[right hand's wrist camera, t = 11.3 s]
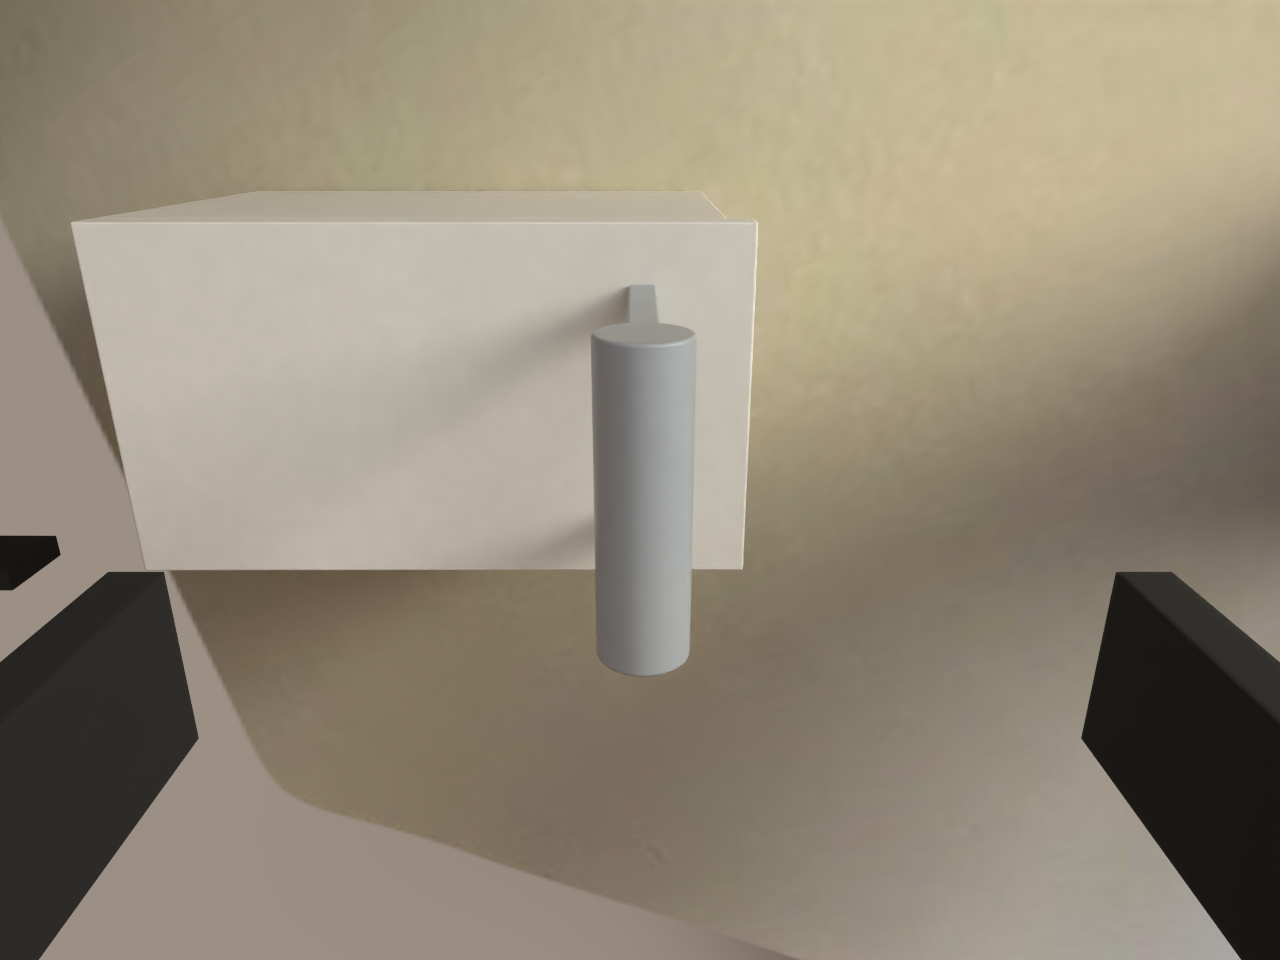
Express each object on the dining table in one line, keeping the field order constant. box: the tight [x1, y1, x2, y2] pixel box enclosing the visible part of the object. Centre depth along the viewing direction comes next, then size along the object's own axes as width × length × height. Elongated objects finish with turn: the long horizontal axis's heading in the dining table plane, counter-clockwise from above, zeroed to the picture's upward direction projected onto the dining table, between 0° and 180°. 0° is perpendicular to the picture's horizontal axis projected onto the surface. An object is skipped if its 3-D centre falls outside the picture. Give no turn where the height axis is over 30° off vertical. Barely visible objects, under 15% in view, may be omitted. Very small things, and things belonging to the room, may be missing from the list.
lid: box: [70, 218, 758, 677], centre depth 21 cm, size 17×10×8 cm, turn 90°
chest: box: [99, 191, 726, 218], centre depth 30 cm, size 16×10×11 cm, turn 90°
